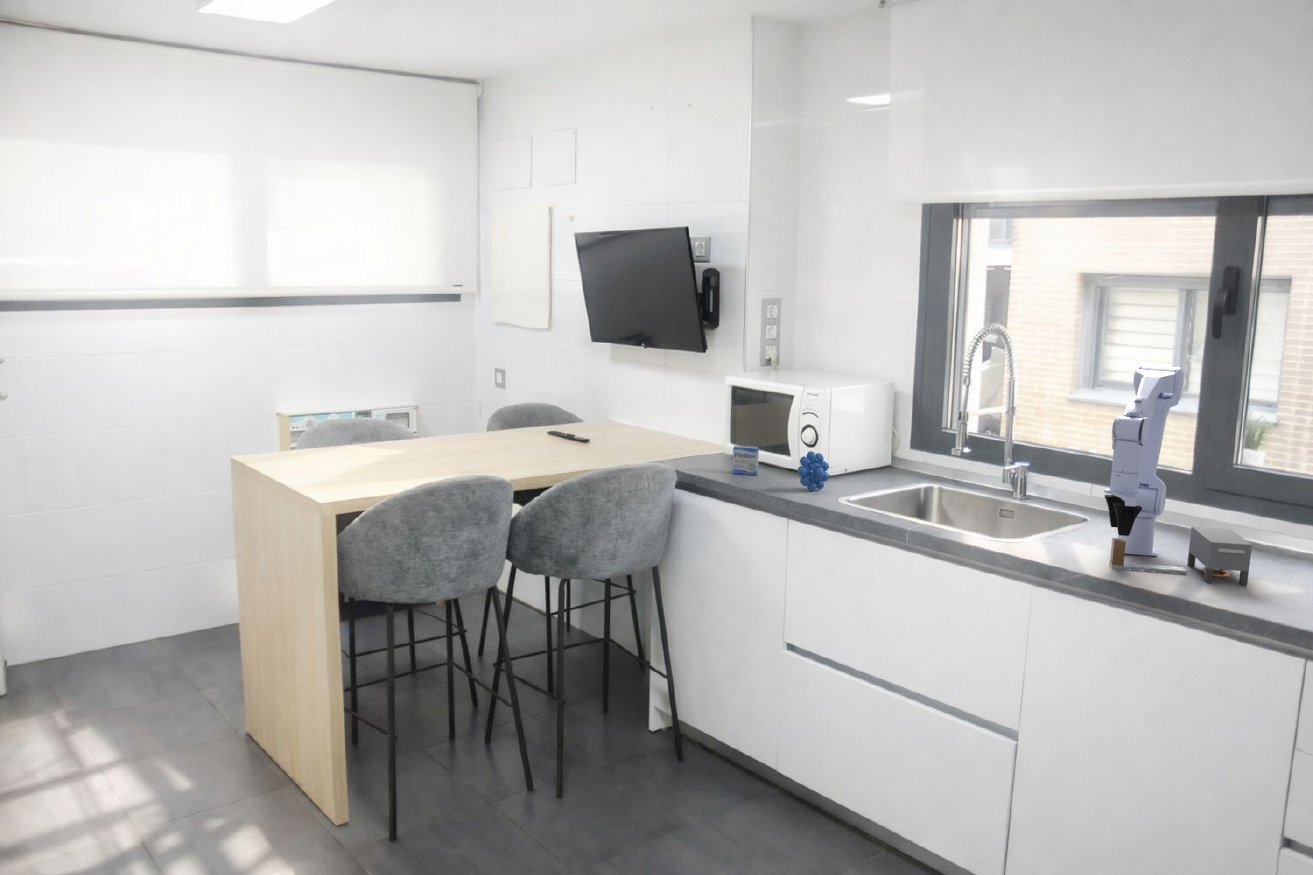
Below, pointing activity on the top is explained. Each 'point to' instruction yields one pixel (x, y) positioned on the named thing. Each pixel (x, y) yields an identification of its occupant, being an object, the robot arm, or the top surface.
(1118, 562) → the scraper
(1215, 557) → the low cabinet
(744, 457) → the medicine box
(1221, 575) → the copper token
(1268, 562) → the top surface
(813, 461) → the grapes
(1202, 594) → the top surface
